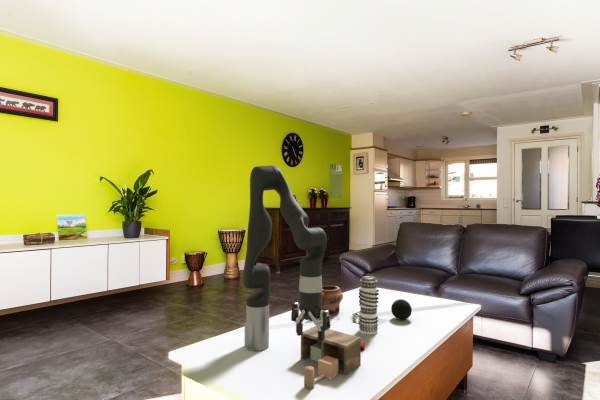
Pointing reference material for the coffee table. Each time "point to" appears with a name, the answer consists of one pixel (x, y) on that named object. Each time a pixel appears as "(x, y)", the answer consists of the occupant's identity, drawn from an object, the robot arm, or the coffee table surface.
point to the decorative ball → (401, 309)
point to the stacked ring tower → (368, 305)
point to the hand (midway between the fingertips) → (310, 338)
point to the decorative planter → (331, 299)
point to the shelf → (334, 347)
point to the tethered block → (320, 371)
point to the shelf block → (316, 351)
